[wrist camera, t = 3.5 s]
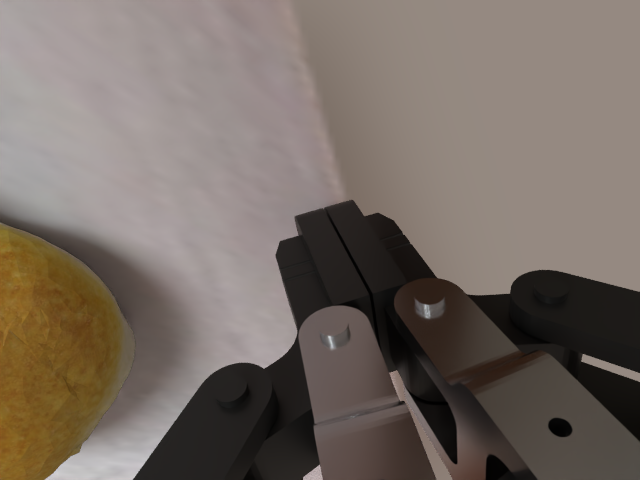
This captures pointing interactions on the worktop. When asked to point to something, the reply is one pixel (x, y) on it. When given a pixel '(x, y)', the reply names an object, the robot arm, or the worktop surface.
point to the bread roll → (54, 354)
